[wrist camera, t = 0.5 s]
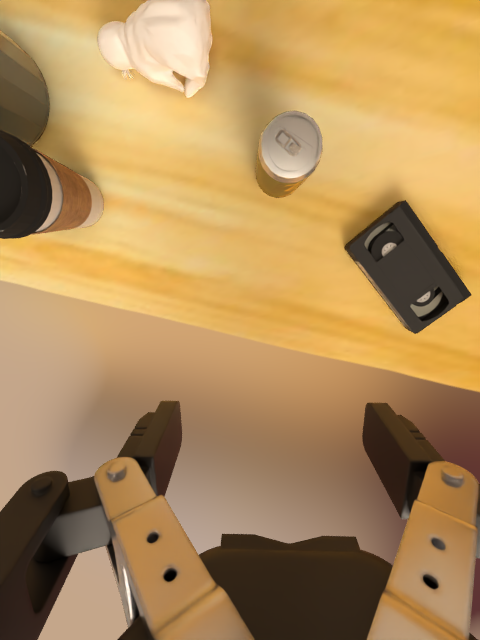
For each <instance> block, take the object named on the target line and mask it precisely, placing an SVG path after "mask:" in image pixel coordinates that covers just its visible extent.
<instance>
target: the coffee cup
mask: <svg viewBox="0 0 480 640" xmlns="http://www.w3.org/2000/svg"><path fill="white" fill-rule="evenodd" d="M103 208H104V202H103V197H102V194H101V192H100V190H99V189H98V187H97V186H96V185H95V184H94V183H93V182H92V181H90V180H89V179H87V178H85V177H83V176H81V175H79V174H77V173H76V172H74V171H72V170H71V169H69V168H67V167H65V166H64V165H62V164H60V163H58V162H57V161H55V160H53V159H51V158H49V157H48V156H46V155H44V154H42V153H41V152H39V151H37V150H35V149H33V148H31V147H30V146H29V145H28V144H26V143H25V142H24V141H22V140H20V139H19V138H17V137H15V136H13V135H11V134H9V133H6V132H4V131H1V130H0V238H2V239H8V238H21V237H25V236H28V235H30V234H40V233H47V232H54V231H61V230H67V229H73V228H83V227H88V226H91V225H93V224H95V223H96V222H97V221H98V220H99V219H100V217H101V215H102V213H103Z"/></svg>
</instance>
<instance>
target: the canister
mask: <svg viewBox="0 0 480 640" xmlns="http://www.w3.org/2000/svg"><path fill="white" fill-rule="evenodd" d="M48 116H49V95H48V90H47V86H46V83H45V80H44V78H43V76H42V73H41V72H40V70H39V68H38V66H37V65H36V64H35V62H34V61H33V60H32V58H31V57H30V56H29V55H28V54H27V53H26V52H25V51H24V50H23V49H22V48H21V47H20V46H19V45H18V44H17V43H15V42H14V41H13V40H12V39H11V38H9V37H8V36H7V35H6V34H5V33H3V32H2V31H1V30H0V130H1V131H4V132H6V133H9V134H11V135H13V136H15V137H17V138H19V139H20V140H22V141H24V142H25V143H26V144H28V145H29V146H31V145H32V144H33V143H35V142H36V141H37V140H38V138H39V137H40V136H41V134H42V133H43V131H44V129H45V127H46V124H47V120H48Z"/></svg>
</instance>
